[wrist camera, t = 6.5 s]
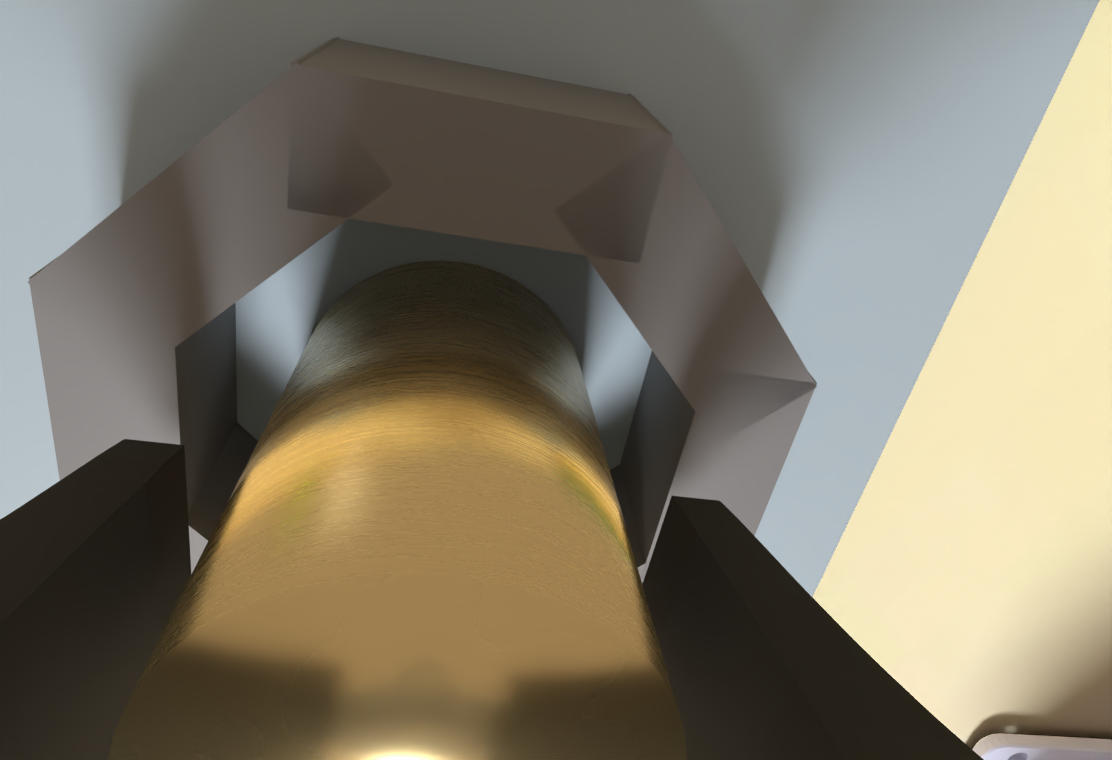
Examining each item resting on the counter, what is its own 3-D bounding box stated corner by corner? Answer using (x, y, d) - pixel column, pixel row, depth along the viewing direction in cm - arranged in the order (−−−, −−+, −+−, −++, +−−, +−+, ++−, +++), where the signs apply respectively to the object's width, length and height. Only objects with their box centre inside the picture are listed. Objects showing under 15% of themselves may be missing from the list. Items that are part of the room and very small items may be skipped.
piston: (607, 282, 12) (755, 598, 5) (555, 519, 14) (621, 953, 7) (306, 239, 11) (81, 548, 5) (296, 495, 13) (126, 955, 7)
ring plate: (1084, -78, 11) (1321, -87, 8) (740, 683, 18) (791, 829, 15) (-214, -412, 8) (-635, -629, 5) (14, 637, 16) (-99, 803, 13)
